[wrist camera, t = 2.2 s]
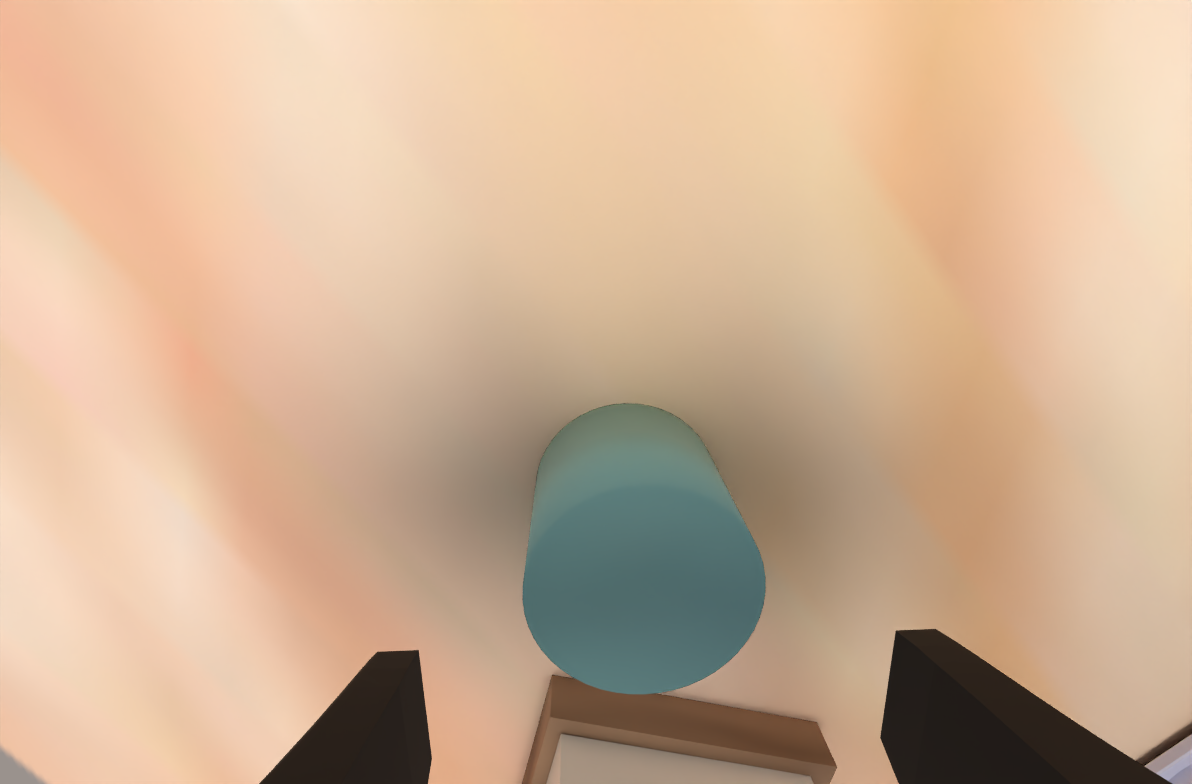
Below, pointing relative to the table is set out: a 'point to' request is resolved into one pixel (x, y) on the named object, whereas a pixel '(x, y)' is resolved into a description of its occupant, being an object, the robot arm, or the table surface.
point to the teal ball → (637, 555)
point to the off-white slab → (650, 766)
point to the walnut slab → (676, 730)
